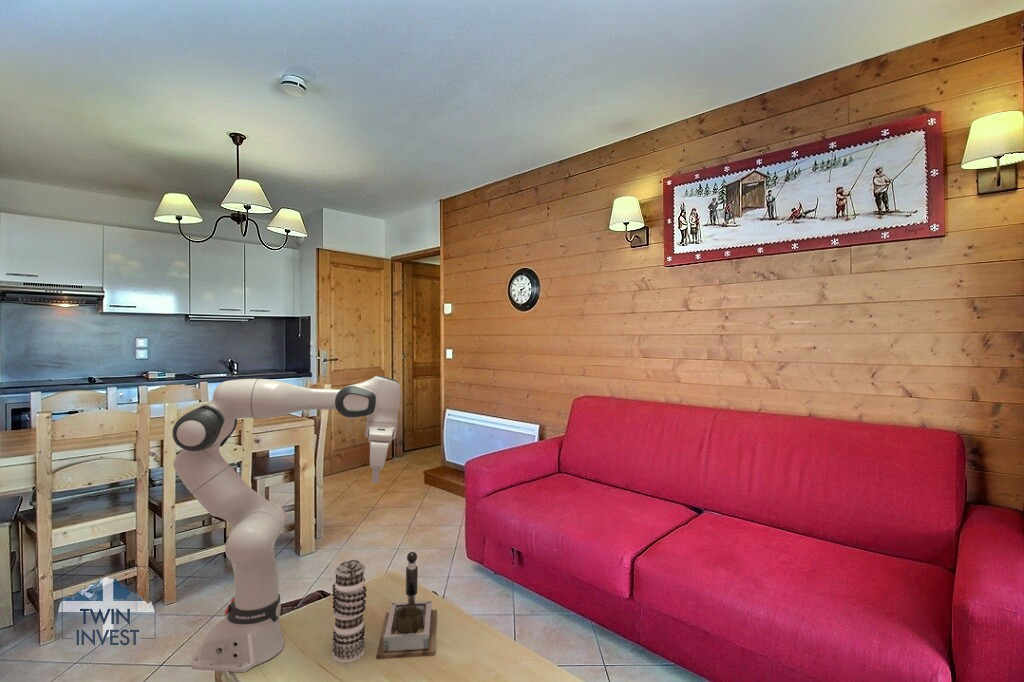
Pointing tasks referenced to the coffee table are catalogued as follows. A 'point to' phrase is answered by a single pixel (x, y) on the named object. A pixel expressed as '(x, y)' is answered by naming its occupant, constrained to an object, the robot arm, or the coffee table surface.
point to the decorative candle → (349, 612)
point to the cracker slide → (410, 639)
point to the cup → (408, 619)
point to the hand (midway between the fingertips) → (375, 479)
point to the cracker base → (410, 653)
